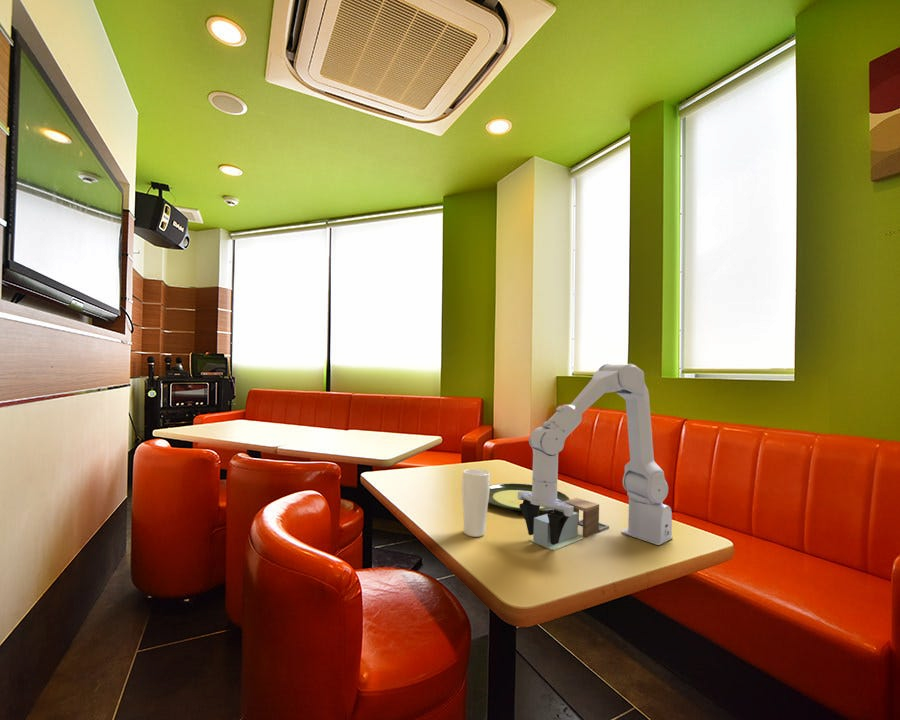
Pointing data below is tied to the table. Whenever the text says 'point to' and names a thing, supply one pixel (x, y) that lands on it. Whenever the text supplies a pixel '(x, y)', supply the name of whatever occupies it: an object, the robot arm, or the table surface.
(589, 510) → the tunnel
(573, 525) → the pale grey rectangular block
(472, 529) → the drinking glass
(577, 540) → the pad
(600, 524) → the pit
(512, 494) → the plate
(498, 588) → the table surface
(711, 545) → the table surface
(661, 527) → the robot arm
